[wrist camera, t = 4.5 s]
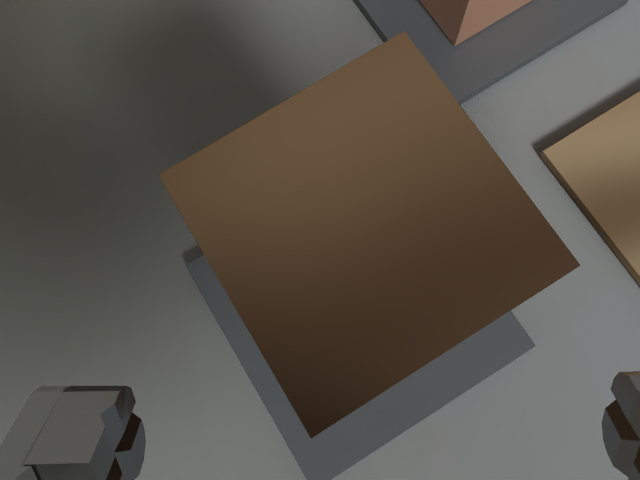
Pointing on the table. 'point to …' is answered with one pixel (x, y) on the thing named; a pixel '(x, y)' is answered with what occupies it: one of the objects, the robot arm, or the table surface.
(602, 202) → the cork pad
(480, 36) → the slate tile
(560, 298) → the table surface
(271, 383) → the slate tile
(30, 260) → the table surface
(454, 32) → the terracotta pillar
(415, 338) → the walnut pillar
